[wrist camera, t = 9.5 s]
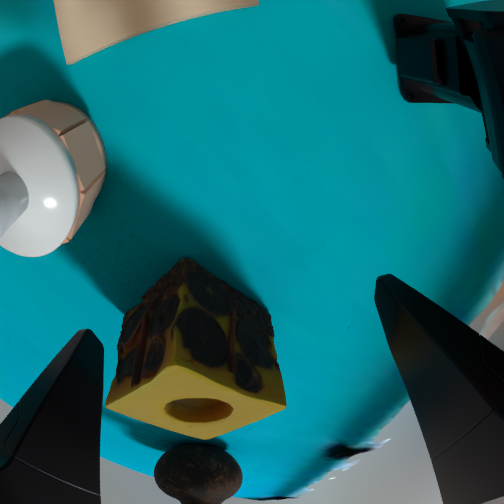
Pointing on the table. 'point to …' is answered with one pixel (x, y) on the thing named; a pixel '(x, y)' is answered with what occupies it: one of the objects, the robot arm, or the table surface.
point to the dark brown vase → (198, 474)
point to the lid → (35, 187)
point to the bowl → (75, 149)
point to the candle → (196, 357)
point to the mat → (125, 20)
